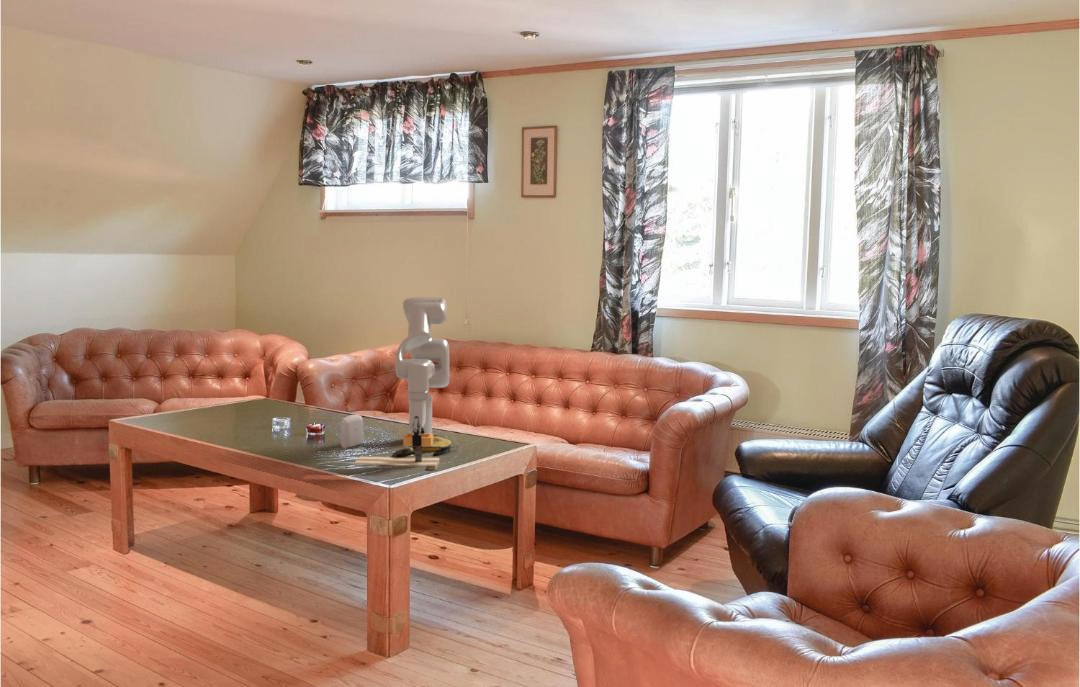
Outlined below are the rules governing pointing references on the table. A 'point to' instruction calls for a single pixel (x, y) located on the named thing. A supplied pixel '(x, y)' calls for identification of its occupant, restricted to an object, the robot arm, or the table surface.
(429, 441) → the link
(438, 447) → the pulley block
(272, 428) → the table surface
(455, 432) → the table surface
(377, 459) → the keeper board
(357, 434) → the photo printer
